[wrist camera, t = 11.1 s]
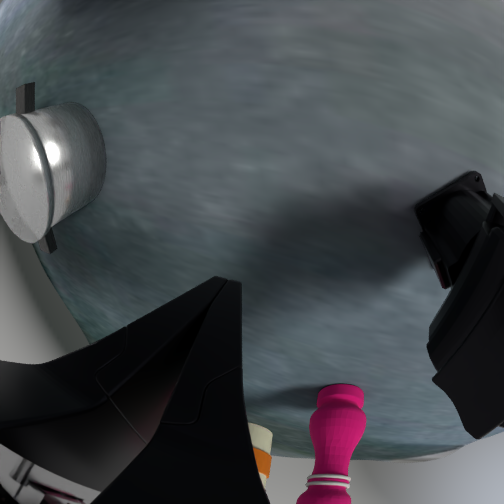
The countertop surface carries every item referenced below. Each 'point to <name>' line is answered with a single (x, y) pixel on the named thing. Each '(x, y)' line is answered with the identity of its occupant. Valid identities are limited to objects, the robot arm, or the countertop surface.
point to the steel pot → (66, 154)
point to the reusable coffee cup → (261, 449)
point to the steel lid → (24, 180)
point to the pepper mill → (334, 443)
